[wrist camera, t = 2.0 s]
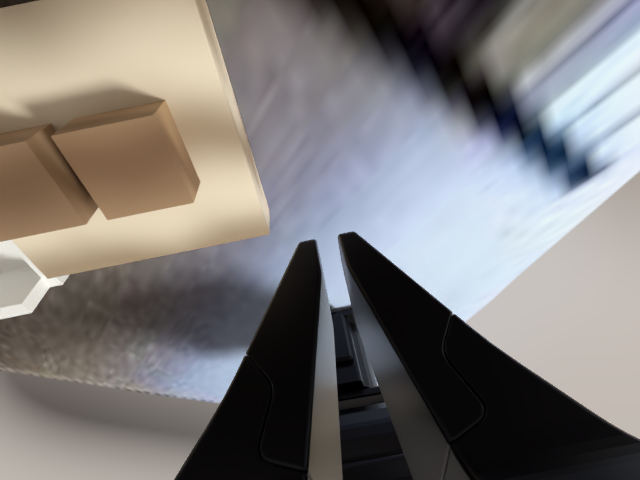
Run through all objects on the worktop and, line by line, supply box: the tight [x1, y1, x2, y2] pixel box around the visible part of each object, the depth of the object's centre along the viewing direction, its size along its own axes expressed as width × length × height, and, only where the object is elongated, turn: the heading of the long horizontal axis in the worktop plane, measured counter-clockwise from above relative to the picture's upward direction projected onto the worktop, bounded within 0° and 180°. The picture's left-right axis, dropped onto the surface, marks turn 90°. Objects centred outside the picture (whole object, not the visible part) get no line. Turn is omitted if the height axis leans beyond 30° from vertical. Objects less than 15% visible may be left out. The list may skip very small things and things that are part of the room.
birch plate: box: [0, 0, 269, 279], centre depth 17 cm, size 12×13×2 cm
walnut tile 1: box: [0, 123, 99, 242], centre depth 15 cm, size 4×4×2 cm
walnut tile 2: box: [51, 100, 200, 220], centre depth 15 cm, size 4×4×2 cm
